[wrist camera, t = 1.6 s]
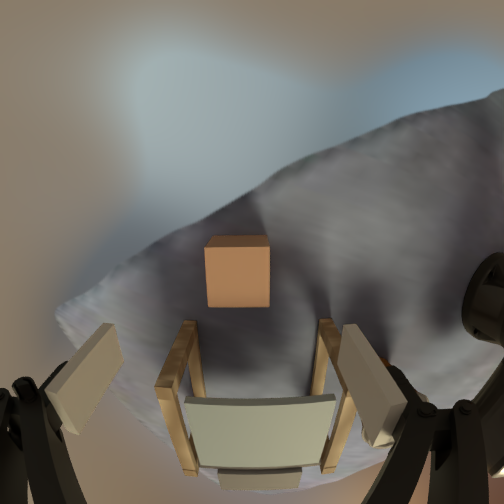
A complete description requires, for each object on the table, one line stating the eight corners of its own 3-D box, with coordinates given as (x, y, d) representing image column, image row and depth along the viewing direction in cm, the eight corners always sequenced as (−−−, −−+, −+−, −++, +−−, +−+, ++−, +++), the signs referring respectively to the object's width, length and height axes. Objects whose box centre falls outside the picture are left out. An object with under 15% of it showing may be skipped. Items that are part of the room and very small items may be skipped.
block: (266, 234, 31) (269, 246, 25) (266, 285, 33) (269, 306, 27) (213, 235, 31) (204, 247, 25) (215, 285, 33) (208, 307, 27)
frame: (331, 318, 34) (365, 382, 21) (317, 408, 38) (333, 472, 25) (184, 320, 34) (154, 386, 21) (198, 410, 38) (185, 475, 25)
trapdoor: (335, 388, 24) (341, 404, 21) (312, 472, 28) (314, 485, 26) (184, 391, 24) (179, 407, 21) (205, 475, 28) (204, 488, 26)
